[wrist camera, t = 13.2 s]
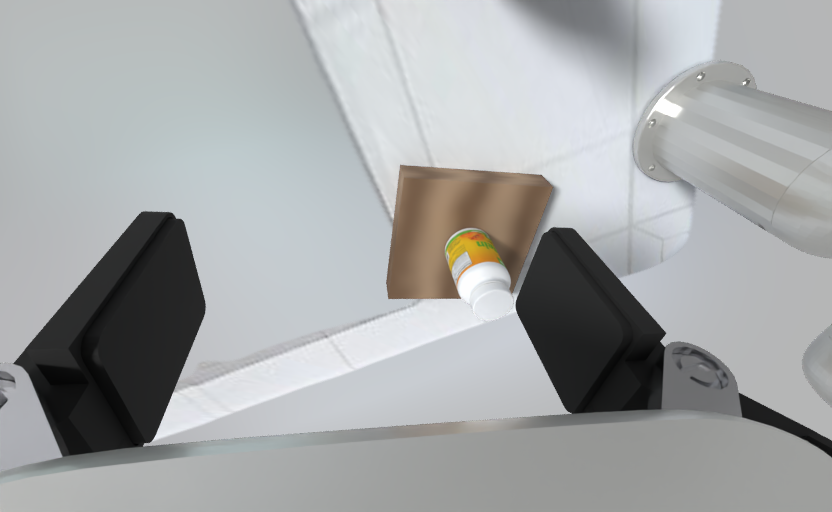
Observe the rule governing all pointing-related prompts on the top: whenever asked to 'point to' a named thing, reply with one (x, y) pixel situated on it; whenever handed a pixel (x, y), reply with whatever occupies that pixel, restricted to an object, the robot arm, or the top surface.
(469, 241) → the supplement bottle
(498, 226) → the walnut base
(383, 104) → the top surface
